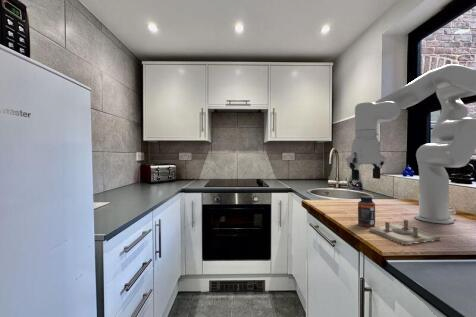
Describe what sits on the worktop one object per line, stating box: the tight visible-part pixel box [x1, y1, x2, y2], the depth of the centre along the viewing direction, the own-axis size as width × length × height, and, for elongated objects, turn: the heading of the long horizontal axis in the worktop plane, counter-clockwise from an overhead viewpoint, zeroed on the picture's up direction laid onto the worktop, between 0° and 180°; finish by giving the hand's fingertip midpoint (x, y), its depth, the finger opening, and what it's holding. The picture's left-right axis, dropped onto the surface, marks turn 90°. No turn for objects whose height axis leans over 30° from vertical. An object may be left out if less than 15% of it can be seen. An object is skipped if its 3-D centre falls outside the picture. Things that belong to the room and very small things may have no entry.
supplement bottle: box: [357, 195, 376, 228], centre depth 94 cm, size 6×6×11 cm
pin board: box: [369, 219, 441, 245], centre depth 82 cm, size 14×14×4 cm
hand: (366, 179), depth 94 cm, fingers open, 9 cm apart
